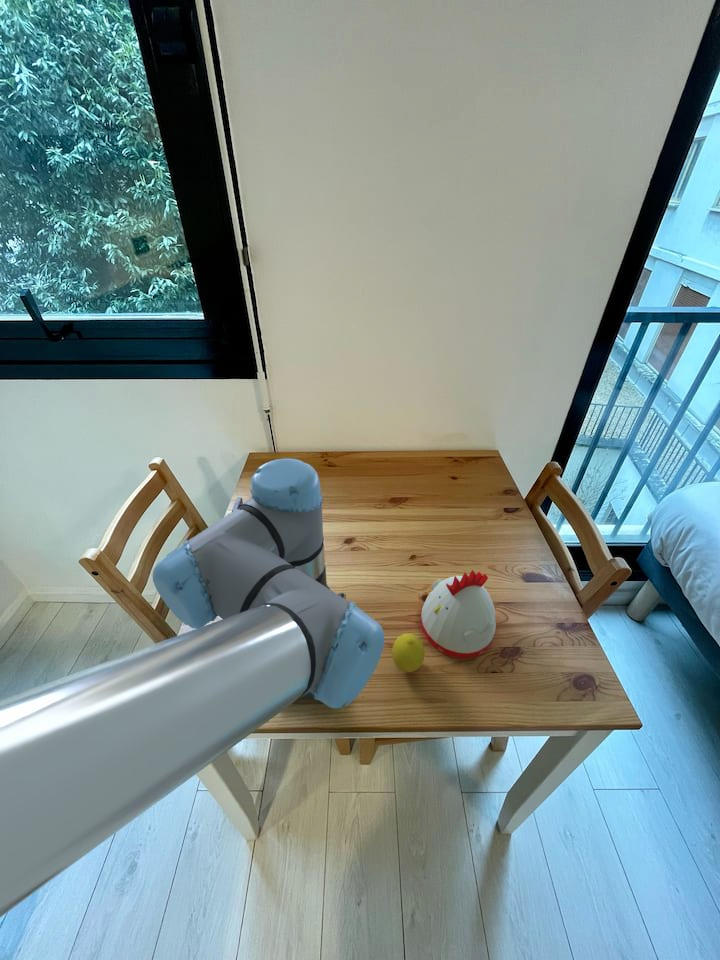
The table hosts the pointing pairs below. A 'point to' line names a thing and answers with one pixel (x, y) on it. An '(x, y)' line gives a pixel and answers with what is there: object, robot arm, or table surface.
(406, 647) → the lemon
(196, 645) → the robot arm
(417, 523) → the table surface
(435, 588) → the kitchen timer
